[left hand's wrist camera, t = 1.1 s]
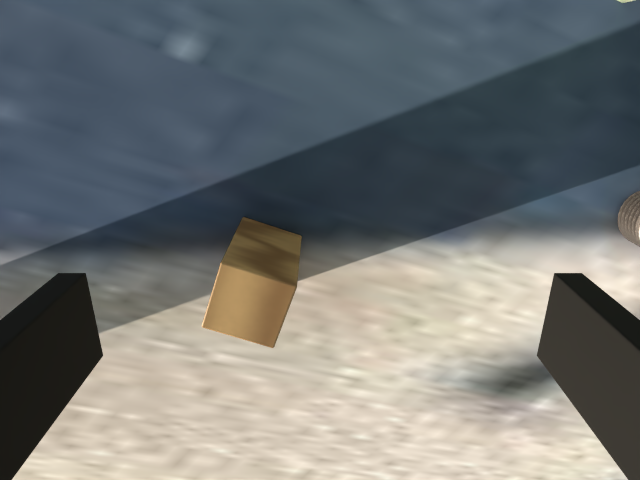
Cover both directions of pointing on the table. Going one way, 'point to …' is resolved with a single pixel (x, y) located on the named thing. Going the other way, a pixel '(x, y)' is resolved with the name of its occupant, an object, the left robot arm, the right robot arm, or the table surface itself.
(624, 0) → the sage bin
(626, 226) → the light bulb
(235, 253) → the beech block
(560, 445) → the table surface
